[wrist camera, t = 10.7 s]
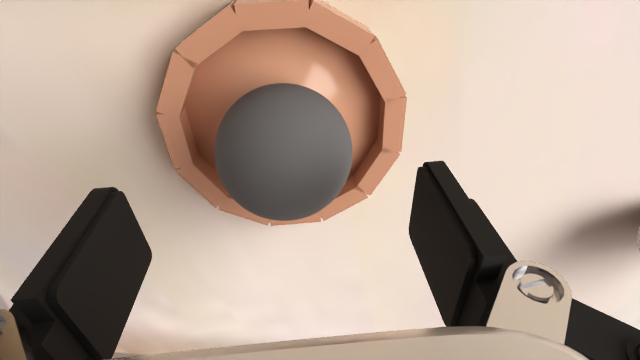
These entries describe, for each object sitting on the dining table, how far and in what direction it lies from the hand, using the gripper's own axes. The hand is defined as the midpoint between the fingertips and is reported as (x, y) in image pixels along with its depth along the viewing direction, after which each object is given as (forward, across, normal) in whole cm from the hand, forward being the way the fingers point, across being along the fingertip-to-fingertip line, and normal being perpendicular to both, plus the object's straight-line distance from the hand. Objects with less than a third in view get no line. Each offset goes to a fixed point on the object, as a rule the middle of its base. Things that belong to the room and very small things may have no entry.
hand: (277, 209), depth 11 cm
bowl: (+8, 0, +1) cm, 8 cm away
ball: (+5, 0, +1) cm, 5 cm away
